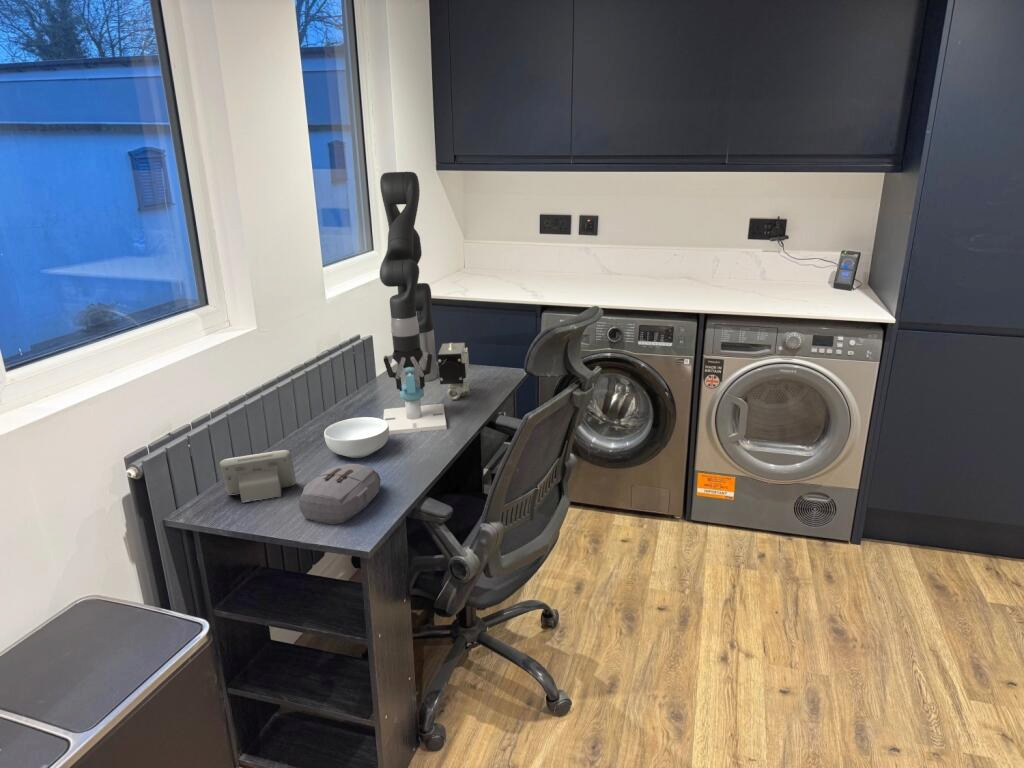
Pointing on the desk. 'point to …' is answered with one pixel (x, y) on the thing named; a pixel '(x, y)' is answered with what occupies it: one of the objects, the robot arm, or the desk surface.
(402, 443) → the desk surface
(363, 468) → the small grey backpack
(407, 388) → the blue switch lever
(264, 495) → the digital clock
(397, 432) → the base plate
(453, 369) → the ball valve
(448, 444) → the desk surface
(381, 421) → the cereal bowl
